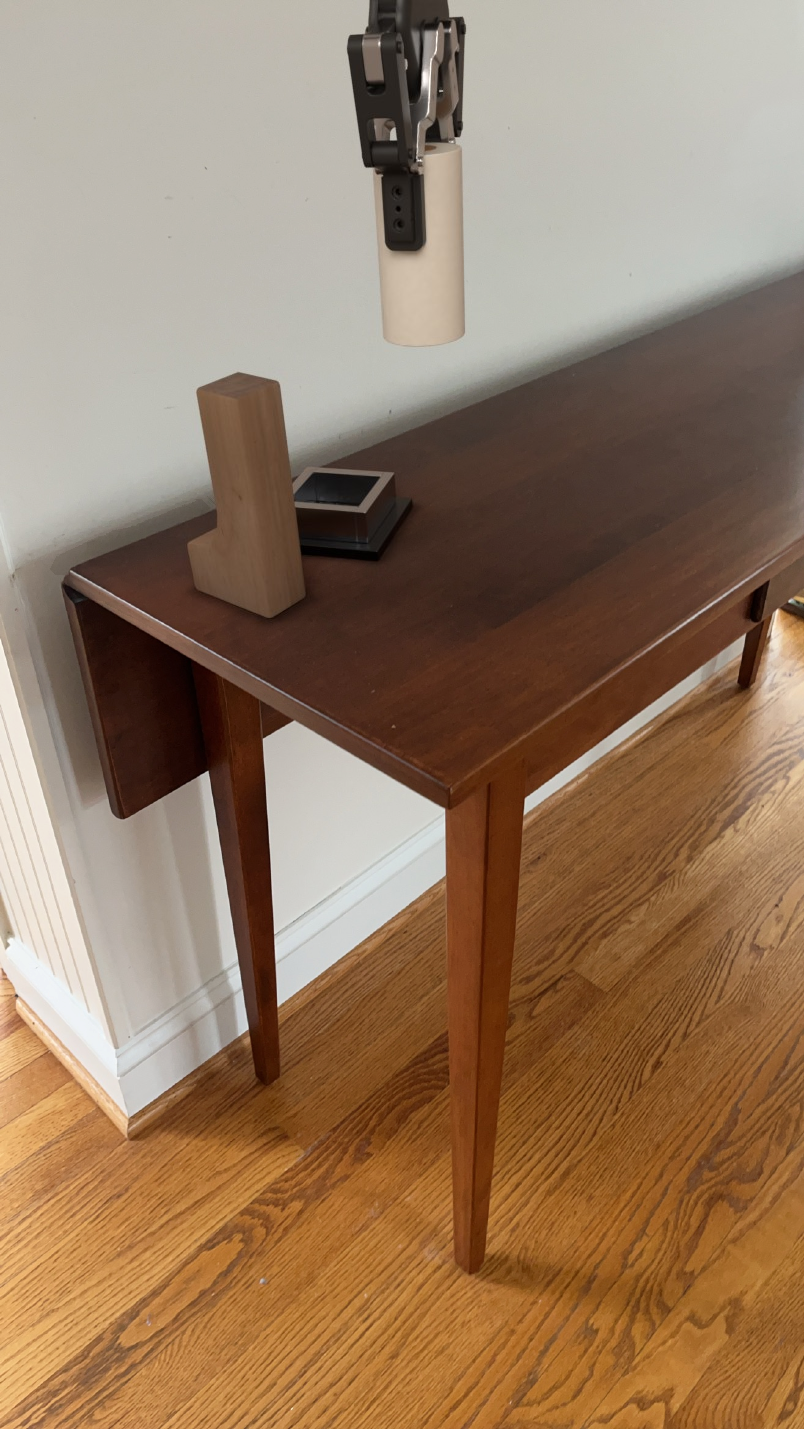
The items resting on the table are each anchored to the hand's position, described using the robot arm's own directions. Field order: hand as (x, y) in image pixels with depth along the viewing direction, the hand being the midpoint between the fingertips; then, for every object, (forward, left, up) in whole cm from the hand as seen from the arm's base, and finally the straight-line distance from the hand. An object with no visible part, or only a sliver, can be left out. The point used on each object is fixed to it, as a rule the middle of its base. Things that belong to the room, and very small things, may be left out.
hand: (419, 236), depth 59 cm
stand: (-14, +19, -29) cm, 37 cm away
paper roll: (0, 0, -5) cm, 5 cm away
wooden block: (-18, +6, -29) cm, 34 cm away
